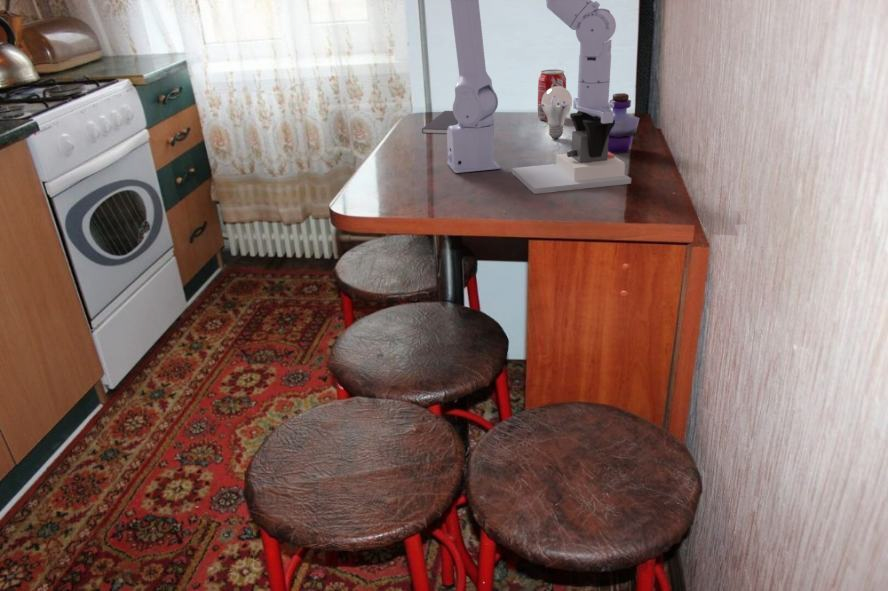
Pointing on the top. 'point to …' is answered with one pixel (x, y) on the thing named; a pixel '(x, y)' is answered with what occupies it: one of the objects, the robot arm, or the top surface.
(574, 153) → the plug
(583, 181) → the socket mat
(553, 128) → the light bulb
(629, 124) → the potion bottle
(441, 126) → the notebook
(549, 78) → the soda can
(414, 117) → the top surface
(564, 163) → the socket plate
